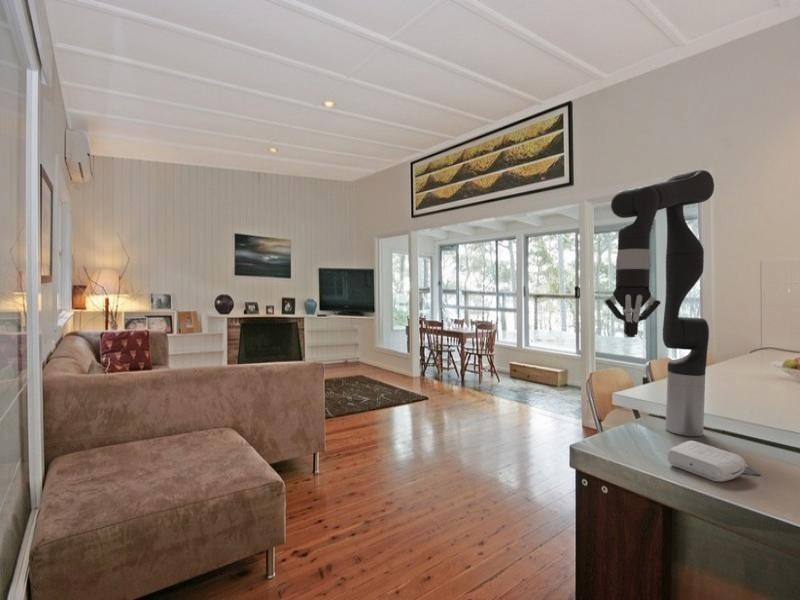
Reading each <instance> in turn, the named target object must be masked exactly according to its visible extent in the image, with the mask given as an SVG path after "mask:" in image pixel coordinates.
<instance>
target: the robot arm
mask: <svg viewBox="0 0 800 600" xmlns="http://www.w3.org/2000/svg"><path fill="white" fill-rule="evenodd" d="M714 191H715V182H714V179H713V176H712V173H710V172H709V171H707V170H705V169H699V170H693V171H688V172H684V173H683V172H682V173H678V174H675V175H671V176H670V177H668V179H666V181H663V182H656V183H652V184H648V185H646V186H645V185H644V186H639V187H635V188H629V189H624V190H620V191H618V192H616V194H614V195H613V197H612V200H611V203H610V208H611V210H612V213H613V214H614V215H615V216H616V217H618V218H622V219H627V218H635V220H634V222H632V223H631V224H630V225H627V226H624V227H621V228H620V229H619V231H618V234H617V256H616V259H615V260H616V261H615V264H616V266H615V288H614V291H612V292H613V293H612V295H611V296H610V297H608V298H606V299H604V304H605V305H606V306H607V308H608V309H609V310H610V311H611V312H612V314H613V315H614V316H615V318H616V319H618V320H621V321H623V332H624V335H626V337H628V338H636V337H635V336H637V335H638V332H639V330H638V329H639V322H641V321H645V320H647V319H648V318H649V317H650V316H651V314H652V313H653V312H655V310H656V309H657V308H658V307H659V306H660V305H661V301H660V300H657V299H655V298H654V297H653V296H652V293H651V291H650V278H651V277H650V273H651V272H650V271H651V270H650V269H651V256H650V242H651V241H650V240H651V239H650V238H651V237H650V236H651V231H652V227H653V224H654V221H655V218H656V214H657V212H658V211H660V210H664V209H665V213H666V249H665V250H666V251H665V252H666V253H665V303H664V313H663V325H662V340H663V345H664V346H665V347H666V348H667V349H672V350H673V349H675V350H690V352H689V353H688V354H687V355H685V356H682V357H680V358H677V359H673V360H670V361H668V362H667V372H666V373H667V374H666V375H667V376H666V378H667V379H666V382H667V384H666V403H665V404H666V407H665V431H668V432H670V433H673V434H677V435H680V436H685V437H702V436H704V420H705V391H706V370H707V369H706V368H707V359H708V349H709V347H708V346H709V340H710V339H709V338H710V330H709V324H708V322H707V320H706V319H704V318H701V317H679V314H680V313H679V312H680V309H681V307H682V304H683V302H684V300H685V299H686V297H687V295H688V294H689V293H690V291H691V290H692V289H693V288H694V287H695V285H696V284H697V283H698V281H699V280H700V279H701V277H702V275H703V273H704V260H705V259H704V257H705V256H704V255H705V250H704V248H703V247H704V246H703V245H702V243H701V241H700V240H699V239H698V237H697V236H696V235H695V233H694V232H693V231H692V229H690V226H689V225H688V223H687V222H686V218H685V213H684V207H685V206H688V205H690V206H691V205H695V204H696V205H697V204H701V203H703V202H706V201H709V199H710V198H711V197H712V196H713V193H714ZM617 303H618V304H619V306H620V307H621V308H622V312H621V311H620V309H618V307H617V306H616V304H617ZM646 303H647V304H646ZM645 305H647V306H646V308H645V309H644V310H643V311H642V312H641V308H642V307H643V306H645ZM622 313H623V314H622Z"/></svg>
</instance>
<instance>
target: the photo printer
mask: <svg viewBox="0 0 800 600" xmlns="http://www.w3.org/2000/svg"><path fill="white" fill-rule="evenodd" d="M721 449H722V448H719V447H716V446H715V447H714V446H712V445H710V444H705V443H702V442H699V441H696V440H687V441H685V442H682V443H680V444H677V445H676V446H673V447H671V448H670V449H669V450H668V452H667V453H668V454H667V461H668V463H669V464H670V465H672V466H673V467H675V468H678V469H681V470H684V471H686V472H689V473H692V474H694V475H697V476H700V477H703V478H704V479H708V480H710V481H713V482H727V481H732V480H734V479H736V478H737V477H739V476H740V475H743V474H742V473H743V471H744V470H745V463H746V461H745V459H744V458H743V457H742V456H740V455H739V454H738V453H733V452H731V451H730V452H728V451H729V450H728V451H725V450H721Z"/></svg>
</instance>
